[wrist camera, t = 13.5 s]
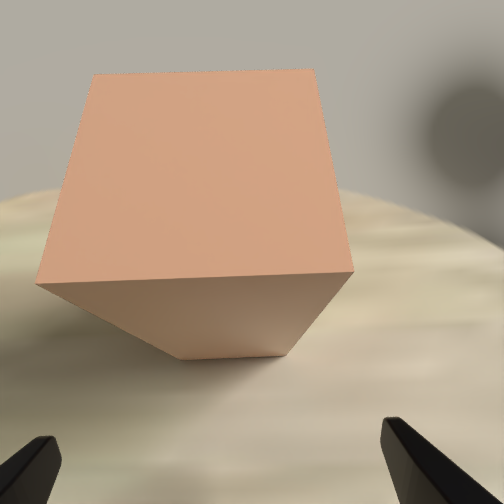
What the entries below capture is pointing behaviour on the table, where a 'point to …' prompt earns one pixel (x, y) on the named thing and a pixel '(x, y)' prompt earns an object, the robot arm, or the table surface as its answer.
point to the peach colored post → (201, 211)
